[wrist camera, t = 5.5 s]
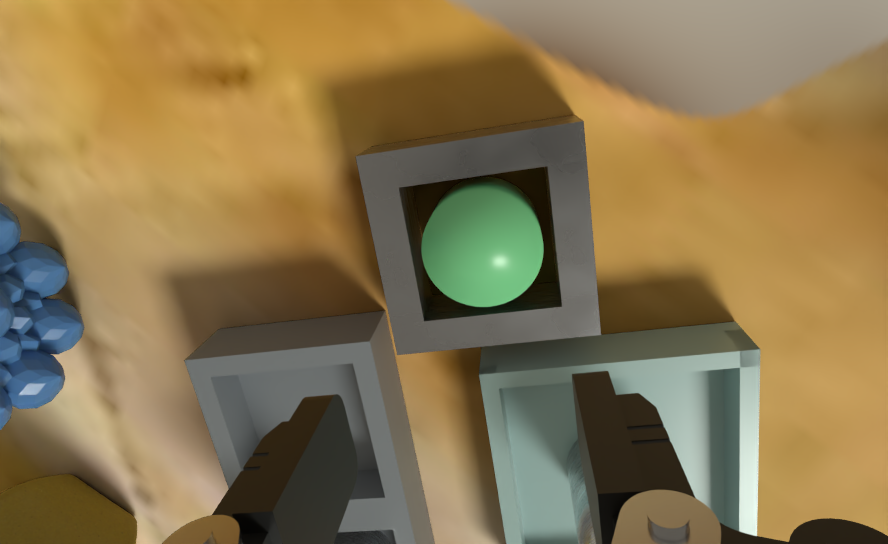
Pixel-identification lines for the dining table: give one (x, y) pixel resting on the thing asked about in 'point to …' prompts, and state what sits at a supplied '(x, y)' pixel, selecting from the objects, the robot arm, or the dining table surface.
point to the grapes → (31, 320)
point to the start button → (483, 242)
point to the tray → (631, 371)
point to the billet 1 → (361, 537)
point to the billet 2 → (579, 497)
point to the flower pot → (62, 514)
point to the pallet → (316, 374)
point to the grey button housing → (469, 155)
